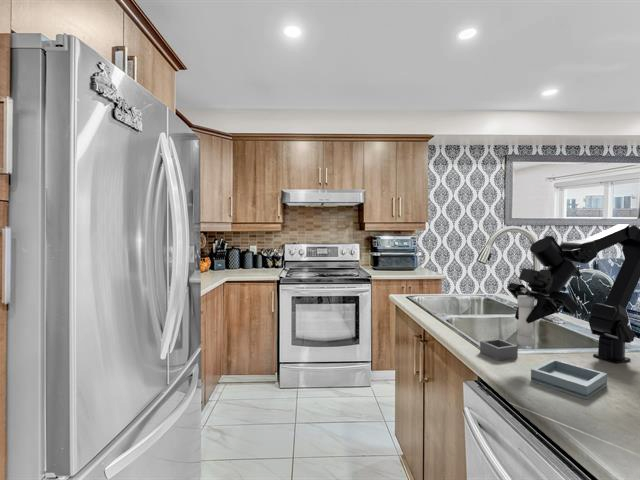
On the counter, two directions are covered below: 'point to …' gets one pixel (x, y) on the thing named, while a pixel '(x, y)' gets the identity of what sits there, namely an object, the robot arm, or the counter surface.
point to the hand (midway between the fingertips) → (521, 320)
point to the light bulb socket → (499, 349)
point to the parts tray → (569, 378)
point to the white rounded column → (524, 328)
